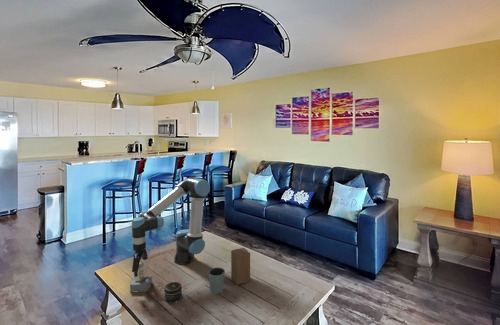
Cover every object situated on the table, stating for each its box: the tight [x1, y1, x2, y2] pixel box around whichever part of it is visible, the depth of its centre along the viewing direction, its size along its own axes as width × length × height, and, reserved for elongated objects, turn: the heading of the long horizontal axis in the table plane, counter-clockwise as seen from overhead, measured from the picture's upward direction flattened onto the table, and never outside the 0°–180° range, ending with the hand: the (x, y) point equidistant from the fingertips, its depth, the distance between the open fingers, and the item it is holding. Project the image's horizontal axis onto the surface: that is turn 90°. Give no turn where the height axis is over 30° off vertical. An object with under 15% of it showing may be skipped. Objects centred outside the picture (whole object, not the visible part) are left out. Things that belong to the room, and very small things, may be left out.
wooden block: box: [230, 247, 251, 285], centre depth 178 cm, size 10×10×20 cm
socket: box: [129, 275, 153, 293], centre depth 170 cm, size 10×10×5 cm
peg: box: [138, 261, 145, 283], centre depth 169 cm, size 4×4×16 cm
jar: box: [163, 281, 183, 303], centre depth 159 cm, size 10×10×8 cm
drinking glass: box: [208, 267, 226, 294], centre depth 168 cm, size 10×10×12 cm
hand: (140, 274), depth 169 cm, fingers open, 13 cm apart
